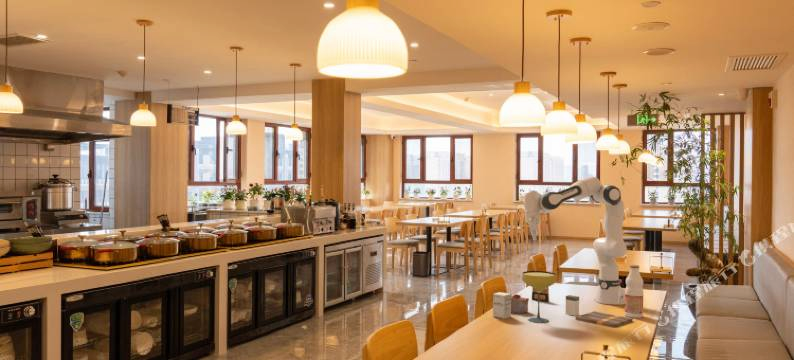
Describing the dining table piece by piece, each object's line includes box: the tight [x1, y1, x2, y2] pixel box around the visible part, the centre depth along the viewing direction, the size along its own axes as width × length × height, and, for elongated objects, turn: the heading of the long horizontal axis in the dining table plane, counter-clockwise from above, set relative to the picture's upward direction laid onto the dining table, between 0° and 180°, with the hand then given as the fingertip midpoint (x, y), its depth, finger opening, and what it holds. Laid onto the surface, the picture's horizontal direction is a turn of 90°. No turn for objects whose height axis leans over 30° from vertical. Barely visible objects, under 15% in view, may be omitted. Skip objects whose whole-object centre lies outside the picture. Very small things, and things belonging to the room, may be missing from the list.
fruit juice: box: [624, 264, 644, 319], centre depth 342 cm, size 9×9×28 cm
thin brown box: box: [531, 287, 550, 303], centre depth 380 cm, size 11×2×12 cm, turn 53°
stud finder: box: [565, 294, 580, 317], centre depth 345 cm, size 4×6×10 cm, turn 44°
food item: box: [511, 294, 530, 314], centre depth 349 cm, size 14×8×10 cm, turn 64°
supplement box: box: [492, 291, 512, 320], centre depth 337 cm, size 7×7×13 cm
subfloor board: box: [575, 310, 633, 328], centre depth 331 cm, size 20×22×2 cm
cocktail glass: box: [521, 270, 558, 324], centre depth 329 cm, size 18×18×25 cm
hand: (534, 241), depth 360 cm, fingers open, 8 cm apart
